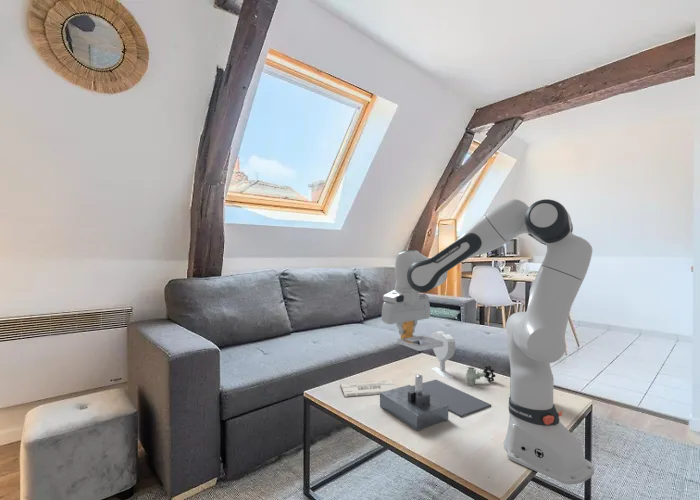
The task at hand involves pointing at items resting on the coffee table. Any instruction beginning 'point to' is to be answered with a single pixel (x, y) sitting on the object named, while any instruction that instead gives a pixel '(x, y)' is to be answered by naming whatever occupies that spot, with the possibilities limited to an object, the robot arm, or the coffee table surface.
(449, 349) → the heart sculpture
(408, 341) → the square frame with handle
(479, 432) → the coffee table surface
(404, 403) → the toggle switch
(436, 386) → the mat
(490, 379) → the valve
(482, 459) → the coffee table surface
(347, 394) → the newspaper
